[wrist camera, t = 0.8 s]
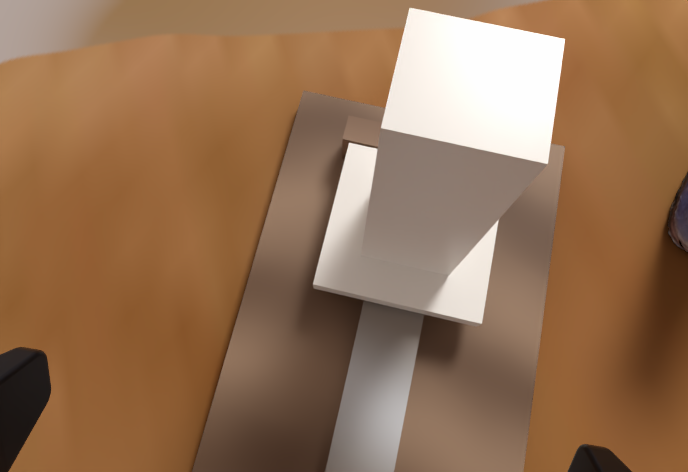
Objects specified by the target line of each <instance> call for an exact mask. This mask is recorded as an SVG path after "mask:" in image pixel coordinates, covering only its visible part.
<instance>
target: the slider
mask: <svg viewBox="0 0 688 472" xmlns="http://www.w3.org/2000/svg"><path fill="white" fill-rule="evenodd" d="M564 42H565V39H561V38H556V37H551V36H547V35H542V34H537V33H532V32H527V31H522V30H517V29H512V28H507V27H502V26H497V25H492V24H487V23H482V22H477V21H473V20H468V19H462V18H458V17H453V16H448V15H443V14H438V13H433V12H428V11H423V10H418V9H413V8H410V9H409V13H408V17H407V21H406V25H405V29H404V34H403V38H402V42H401V46H400V50H399V55H398V59H397V63H396V67H395V71H394V75H393V80H392V84H391V88H390V92H389V96H388V100H387V105H386V109H385V113H384V117H383V121H382V125H381V130H380V137H379V143H378V149H376V148H371V147H367V146H362V145H358V144H353V143H349V145H348V149H347V153H346V157H345V161H344V165H343V168H342V172H341V176H340V180H339V184H338V188H337V192H336V196H335V200H334V204H333V207H332V211H331V215H330V219H329V223H328V227H327V231H326V235H325V239H324V243H323V246H322V250H321V254H320V258H319V262H318V266H317V270H316V274H315V278H314V282H313V288H314V289H318V290H322V291H327V292H331V293H335V294H339V295H344V296H348V297H352V298H356V299H361V300H365V301H369V302H373V303H378V304H382V305H386V306H390V307H395V308H399V309H403V310H408V311H412V312H416V313H420V314H425V315H429V316H433V317H437V318H442V319H446V320H450V321H454V322H459V323H463V324H467V325H471V326H476V327H477V326H479V325H481V324H482V320H483V314H484V308H485V302H486V295H487V289H488V283H489V277H490V270H491V264H492V258H493V252H494V245H495V239H496V233H497V227H498V221H499V219H500V217H501V216H502V215H503V214H504V213H505V212H506V211H507V210H508V208H509V207H510V206H511V205H512V204H513V203H514V202H515V201H516V199H517V198H518V197H519V196H520V195H521V194H522V193H523V192H524V190H525V189H526V188H527V187H528V186H529V185H530V184H531V183H532V181H533V180H534V179H535V178H536V177H537V176H538V175H539V173H540V172H541V171H542V170H543V169H544V168H545V167H546V166H547V164H548V159H549V152H550V145H551V137H552V130H553V123H554V115H555V108H556V101H557V94H558V86H559V79H560V72H561V64H562V57H563V50H564Z"/></svg>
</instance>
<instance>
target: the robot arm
mask: <svg viewBox="0 0 688 472" xmlns="http://www.w3.org/2000/svg"><path fill="white" fill-rule="evenodd" d="M50 393H51V383H50V376H49V369H48V362H47V356H46V354H45V353H44V352H43V351H41V350H37V349H31V348H25V347H18V348H15V349H13V350H10V351H8V352H6V353H3V354H1V355H0V472H8V471H9V470H10V468H11V466H12V464H13V463H14V461H15V459H16V457H17V455H18V454H19V452H20V450H21V448H22V447H23V445H24V443H25V441H26V440H27V438H28V436H29V434H30V433H31V431H32V429H33V427H34V426H35V424H36V422H37V420H38V418H39V417H40V415H41V413H42V411H43V410H44V408H45V406H46V404H47V402H48V400H49V397H50ZM568 472H632V471H631V470H630V469H629V468H628V467H627V466H626V465H625V464H624V463H623V462H622V461H621V460H620V459H619V458H618V457H617V456H616V455H615V454H614V453H613V452H611V451H610V450H609V449H607V448H605V447H600V446H594V445H588V444H583V445H581V446H580V447H579V448H578V449H577V451H576V454H575V456H574V458H573V460H572V463H571V465H570V467H569V470H568Z"/></svg>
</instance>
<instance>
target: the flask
mask: <svg viewBox="0 0 688 472" xmlns="http://www.w3.org/2000/svg"><path fill="white" fill-rule="evenodd" d="M682 182H683V184H682V186H681V187H680V190H678V193H677V194H676V197H675V200H674V202H673V203H672V206H671V208H670V209H671V211H670V217H669V222H668V227H669V231H668V234H669V235H670V236H671V238H672V240H673V242H674V243H675V244H676V245H677V246H678V247H680V248H682V249H684V250H685V251H687V252H688V173H687V175H686V177H685V179H684V180H683V181H682ZM679 240H680V241H681V243H682V246H683V247H684V248H683V247H682V246H681V245H679V244H680V243H679Z"/></svg>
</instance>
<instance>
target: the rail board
mask: <svg viewBox="0 0 688 472" xmlns="http://www.w3.org/2000/svg"><path fill="white" fill-rule="evenodd" d="M385 109H386V108H382V107H378V106H373V105H368V104H364V103H359V102H354V101H350V100H345V99H340V98H336V97H331V96H326V95H322V94H317V93H312V92H308V91H303V94H302V97H301V101H300V104H299V108H298V111H297V115H296V118H295V121H294V125H293V128H292V132H291V135H290V138H289V142H288V145H287V149H286V152H285V156H284V159H283V162H282V166H281V169H280V173H279V176H278V179H277V183H276V186H275V190H274V193H273V197H272V200H271V203H270V207H269V210H268V214H267V217H266V220H265V224H264V227H263V231H262V234H261V238H260V241H259V244H258V248H257V251H256V255H255V258H254V262H253V265H252V268H251V272H250V275H249V279H248V282H247V285H246V289H245V292H244V296H243V299H242V303H241V306H240V309H239V313H238V316H237V320H236V323H235V326H234V330H233V333H232V337H231V340H230V344H229V347H228V350H227V354H226V357H225V361H224V364H223V367H222V371H221V374H220V378H219V381H218V385H217V388H216V391H215V395H214V398H213V402H212V405H211V409H210V412H209V415H208V419H207V422H206V426H205V429H204V432H203V436H202V439H201V443H200V446H199V450H198V453H197V456H196V460H195V463H194V467H193V470H192V472H523V470H524V463H525V455H526V447H527V439H528V431H529V424H530V416H531V408H532V400H533V392H534V385H535V377H536V369H537V361H538V353H539V346H540V338H541V330H542V322H543V314H544V307H545V299H546V291H547V283H548V275H549V268H550V260H551V252H552V244H553V236H554V229H555V221H556V213H557V205H558V197H559V190H560V182H561V174H562V166H563V158H564V151H565V146H560V145H556V144H551V145H550V152H549V159H548V164H547V166H546V167H545V168H544V169H543V170H542V171H541V172H540V173H539V175H538V176H537V177H536V178H535V179H534V180H533V181H532V183H531V184H530V185H529V186H528V187H527V188H526V189H525V190H524V192H523V193H522V194H521V195H520V196H519V197H518V198H517V199H516V201H515V202H514V203H513V204H512V205H511V206H510V207H509V208H508V210H507V211H506V212H505V213H504V214H503V215H502V216H501V217H500V219H499V221H498V227H497V233H496V239H495V245H494V252H493V258H492V264H491V270H490V277H489V283H488V289H487V295H486V302H485V308H484V314H483V320H482V324H481V325H479V326H477V327H476V326H471V325H467V324H463V323H459V322H454V321H450V320H446V319H442V318H437V317H433V316H429V315H425V314H420V313H416V312H412V311H408V310H403V309H399V308H395V307H390V306H386V305H382V304H378V303H373V302H369V301H365V300H361V299H356V298H352V297H348V296H344V295H339V294H335V293H331V292H327V291H322V290H318V289H314V288H313V282H314V278H315V274H316V270H317V266H318V262H319V258H320V254H321V250H322V246H323V243H324V239H325V235H326V231H327V227H328V223H329V219H330V215H331V211H332V207H333V204H334V200H335V196H336V192H337V188H338V184H339V180H340V176H341V172H342V168H343V165H344V161H345V157H346V153H347V149H348V145H349V143H353V144H358V145H362V146H367V147H371V148H376V149H378V143H379V137H380V130H381V125H382V121H383V117H384V113H385Z"/></svg>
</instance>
